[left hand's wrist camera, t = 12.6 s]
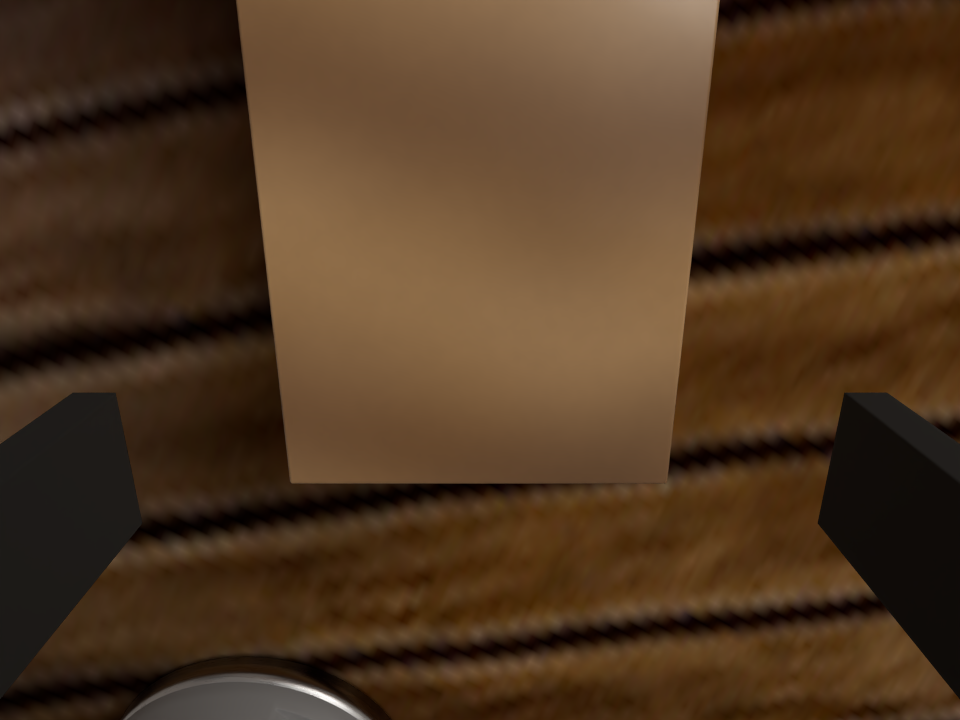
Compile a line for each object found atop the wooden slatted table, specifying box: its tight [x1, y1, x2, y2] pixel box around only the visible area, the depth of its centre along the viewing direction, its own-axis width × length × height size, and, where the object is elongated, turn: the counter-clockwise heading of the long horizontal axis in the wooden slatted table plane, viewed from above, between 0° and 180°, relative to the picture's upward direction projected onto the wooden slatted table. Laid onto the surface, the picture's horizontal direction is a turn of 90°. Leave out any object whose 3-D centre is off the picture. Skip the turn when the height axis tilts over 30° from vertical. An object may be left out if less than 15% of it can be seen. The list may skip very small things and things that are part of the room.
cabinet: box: [236, 0, 720, 484], centre depth 20 cm, size 20×10×9 cm, turn 0°
